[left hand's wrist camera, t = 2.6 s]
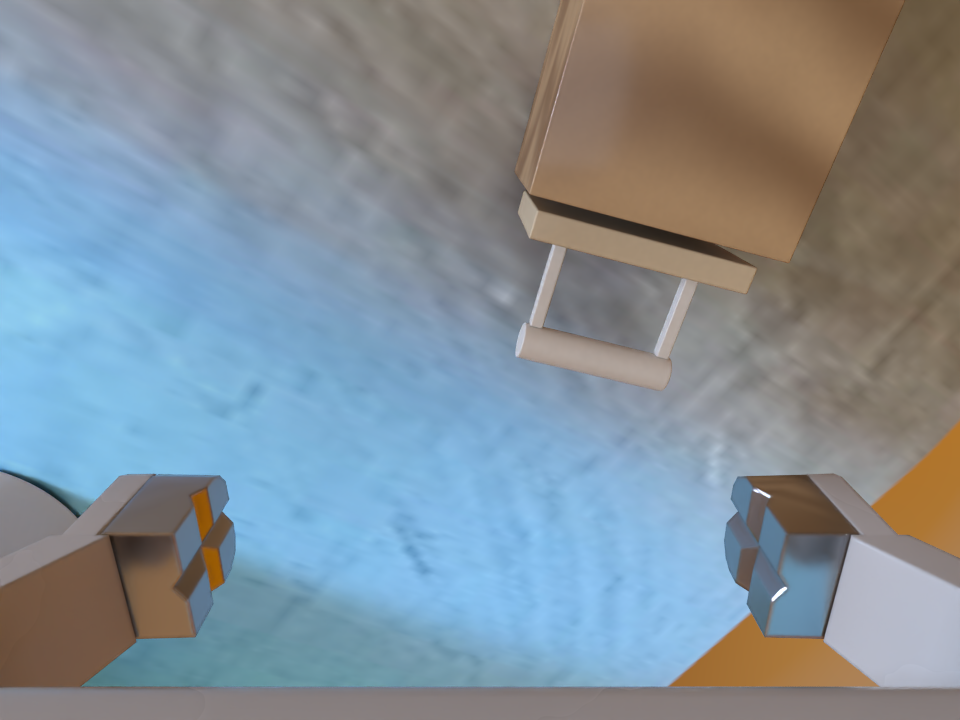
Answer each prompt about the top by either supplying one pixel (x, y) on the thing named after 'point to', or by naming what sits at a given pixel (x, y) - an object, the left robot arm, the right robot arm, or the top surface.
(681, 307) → the drawer
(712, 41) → the wooden box
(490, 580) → the top surface
